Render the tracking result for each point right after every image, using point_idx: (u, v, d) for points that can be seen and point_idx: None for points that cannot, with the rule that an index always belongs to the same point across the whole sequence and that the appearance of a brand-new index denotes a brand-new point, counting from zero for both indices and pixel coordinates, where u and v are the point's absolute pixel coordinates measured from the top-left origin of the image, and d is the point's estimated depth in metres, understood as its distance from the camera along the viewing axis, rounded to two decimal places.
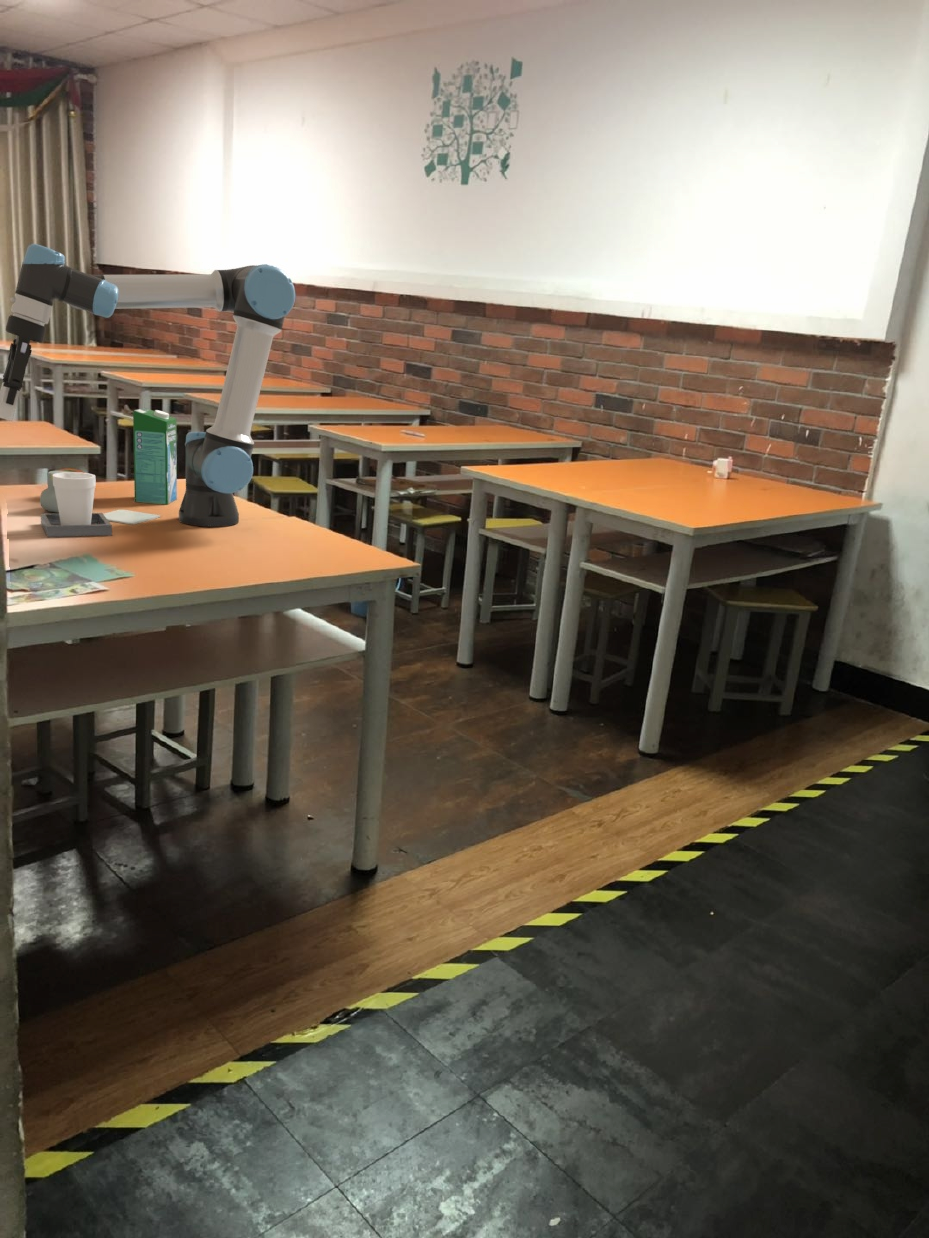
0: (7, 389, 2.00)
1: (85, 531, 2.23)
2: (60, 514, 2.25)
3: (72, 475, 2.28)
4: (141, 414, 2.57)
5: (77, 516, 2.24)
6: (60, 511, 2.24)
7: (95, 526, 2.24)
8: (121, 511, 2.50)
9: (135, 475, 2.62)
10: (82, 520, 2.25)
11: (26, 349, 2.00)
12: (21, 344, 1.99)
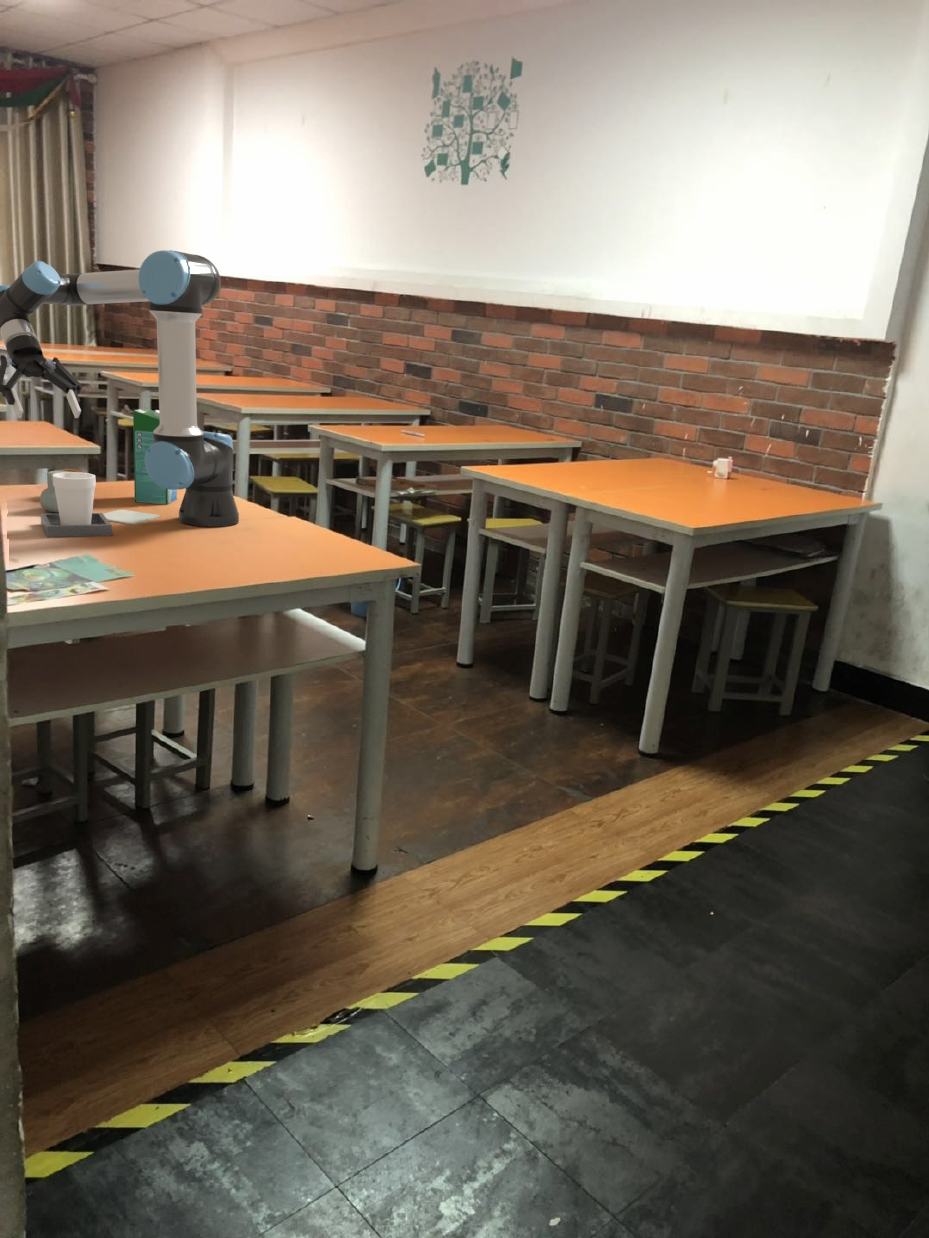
0: None
1: (85, 531, 2.23)
2: (60, 514, 2.25)
3: (72, 475, 2.28)
4: (141, 414, 2.57)
5: (77, 516, 2.24)
6: (60, 511, 2.24)
7: (95, 526, 2.24)
8: (121, 511, 2.50)
9: (135, 475, 2.62)
10: (82, 520, 2.25)
11: (0, 360, 2.26)
12: None
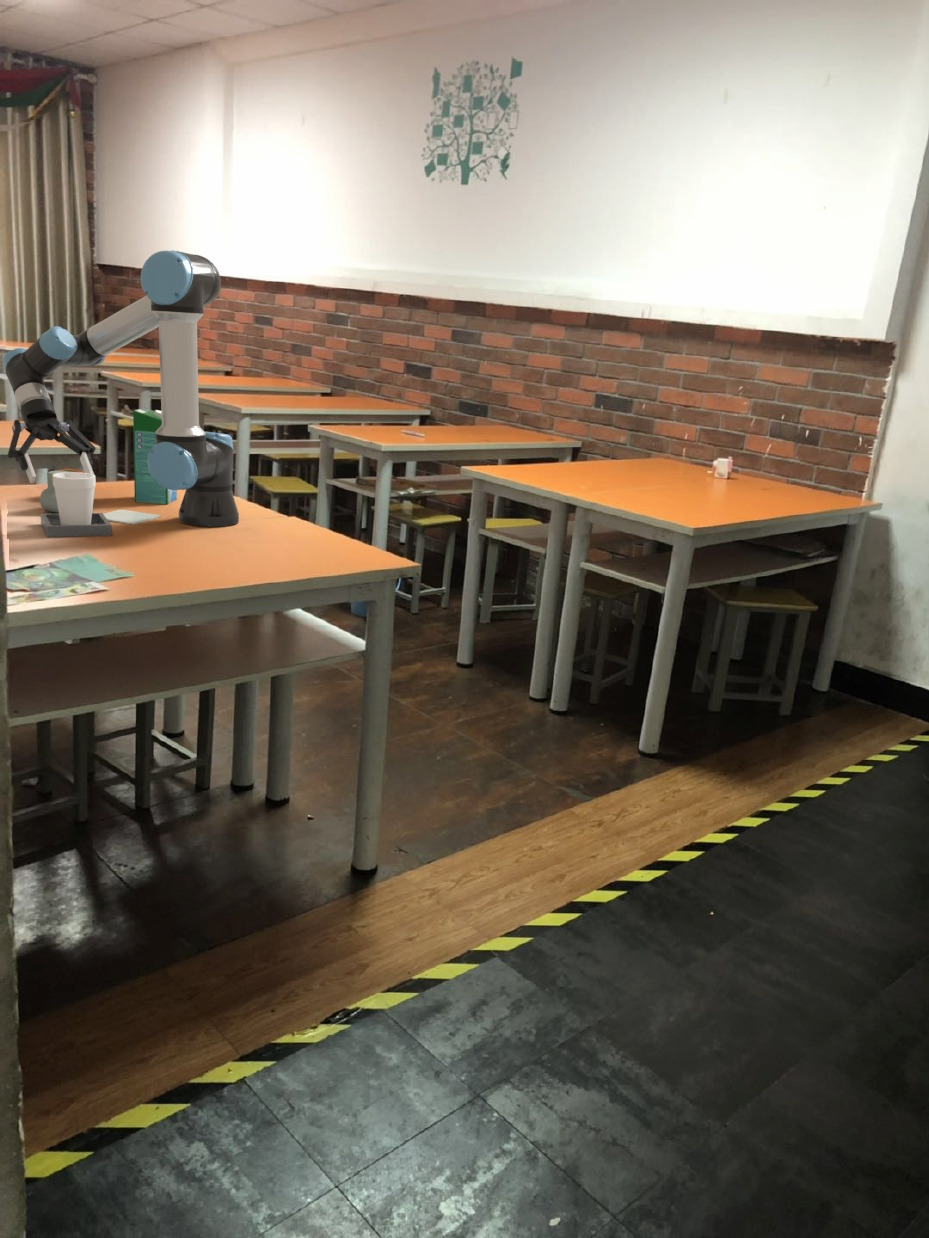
0: None
1: (85, 531, 2.23)
2: (60, 514, 2.25)
3: (72, 475, 2.28)
4: (141, 414, 2.57)
5: (77, 516, 2.24)
6: (60, 511, 2.24)
7: (95, 526, 2.24)
8: (121, 511, 2.50)
9: (135, 475, 2.62)
10: (82, 520, 2.25)
11: (14, 425, 2.27)
12: (12, 426, 2.28)
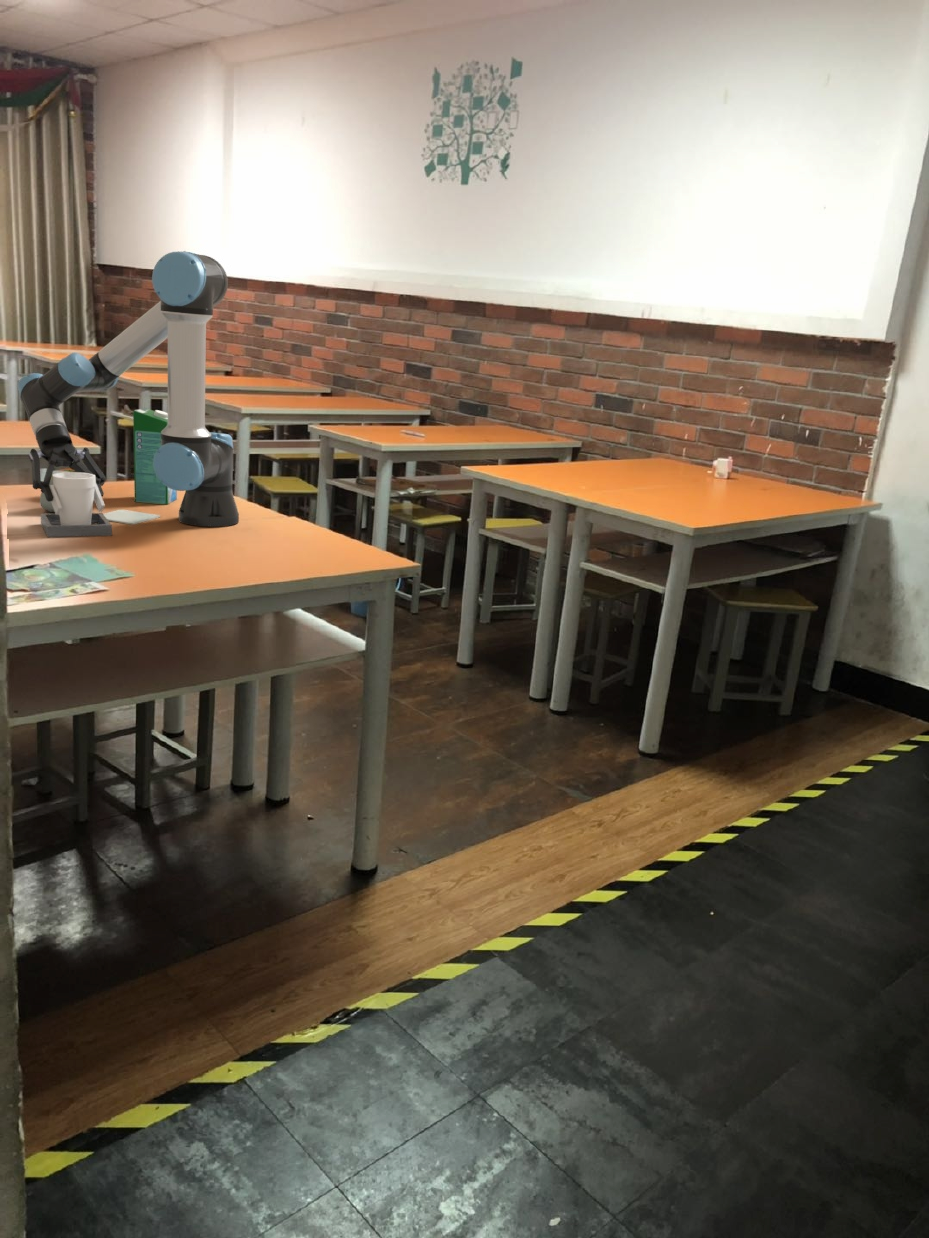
0: None
1: (85, 531, 2.23)
2: (60, 514, 2.25)
3: (72, 475, 2.28)
4: (141, 414, 2.57)
5: (77, 516, 2.24)
6: None
7: (95, 526, 2.24)
8: (121, 511, 2.50)
9: (135, 475, 2.62)
10: (82, 520, 2.25)
11: (31, 455, 2.24)
12: (29, 455, 2.25)
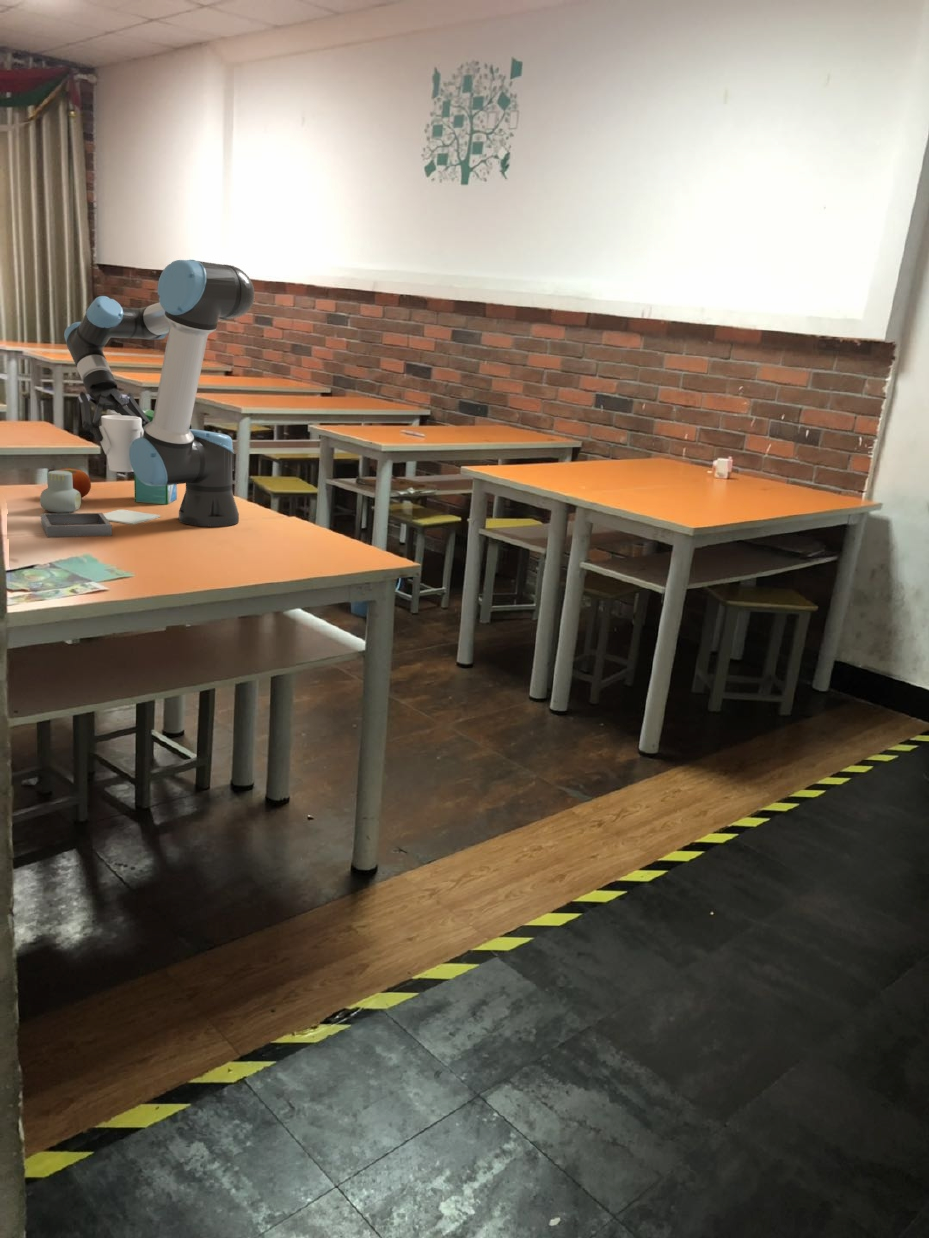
0: None
1: (85, 531, 2.23)
2: (108, 454, 2.37)
3: (118, 418, 2.40)
4: None
5: (125, 455, 2.36)
6: None
7: (95, 526, 2.24)
8: (121, 511, 2.50)
9: (135, 475, 2.62)
10: (129, 460, 2.38)
11: (80, 398, 2.36)
12: (78, 398, 2.37)
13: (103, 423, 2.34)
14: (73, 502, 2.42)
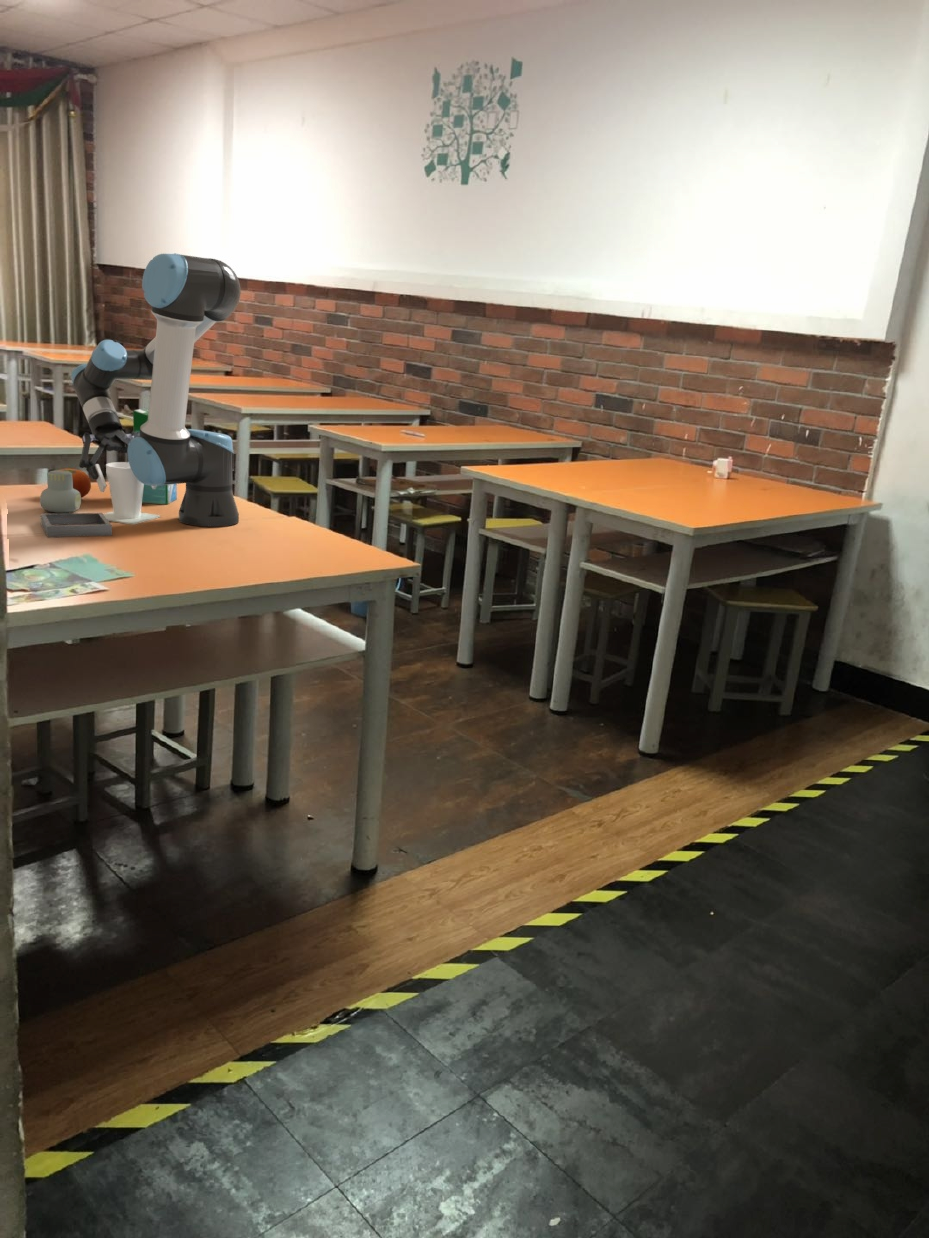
0: None
1: (85, 531, 2.23)
2: (113, 501, 2.41)
3: (123, 465, 2.45)
4: (141, 414, 2.57)
5: (129, 502, 2.41)
6: (113, 498, 2.41)
7: (95, 526, 2.24)
8: None
9: None
10: (133, 506, 2.42)
11: (84, 437, 2.40)
12: (82, 438, 2.41)
13: (108, 471, 2.39)
14: (73, 502, 2.42)
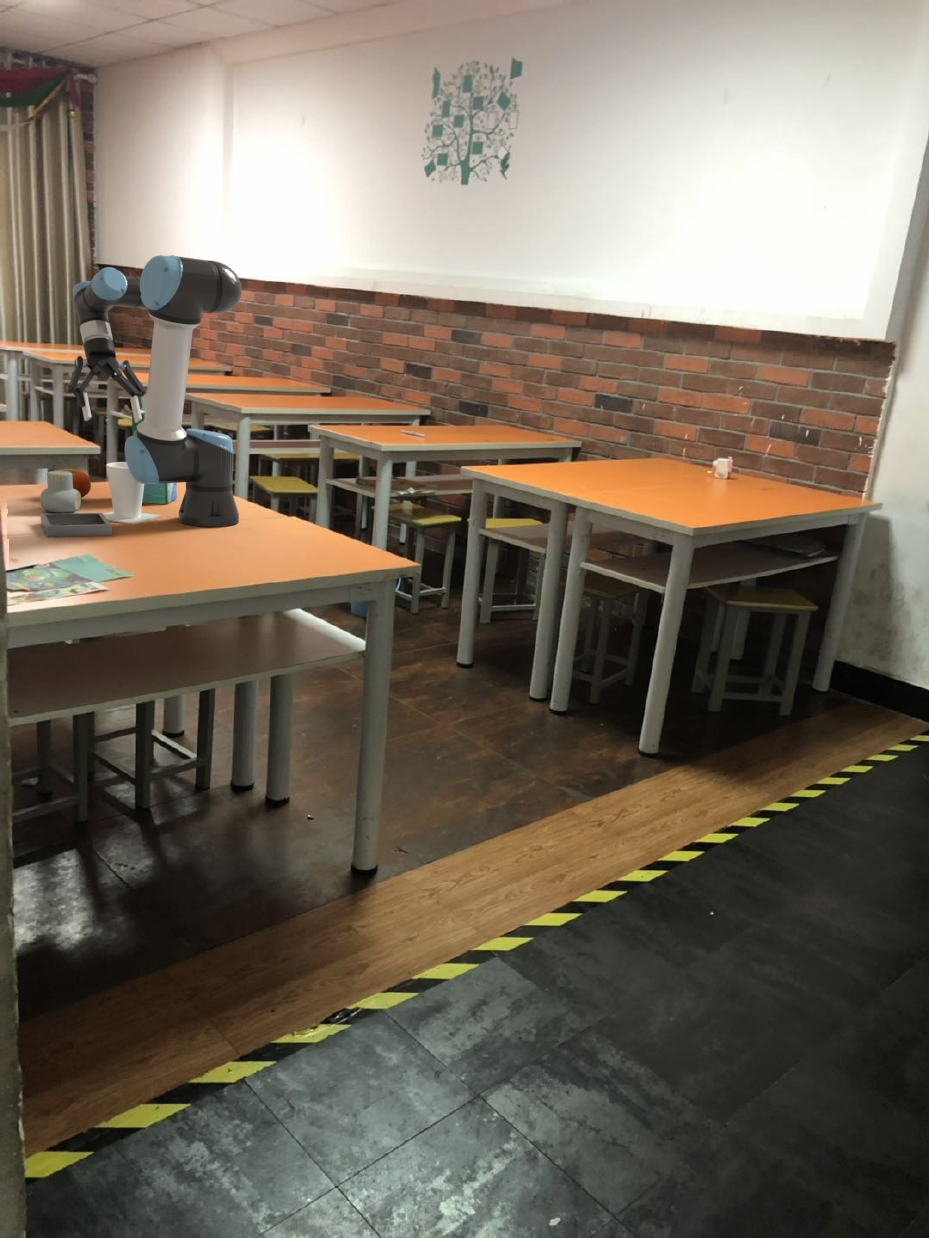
0: None
1: (85, 531, 2.23)
2: (113, 501, 2.42)
3: (123, 465, 2.45)
4: None
5: (129, 502, 2.41)
6: (113, 498, 2.41)
7: (95, 526, 2.24)
8: None
9: None
10: (133, 507, 2.42)
11: (77, 361, 2.45)
12: (75, 360, 2.46)
13: (108, 471, 2.39)
14: (73, 502, 2.42)
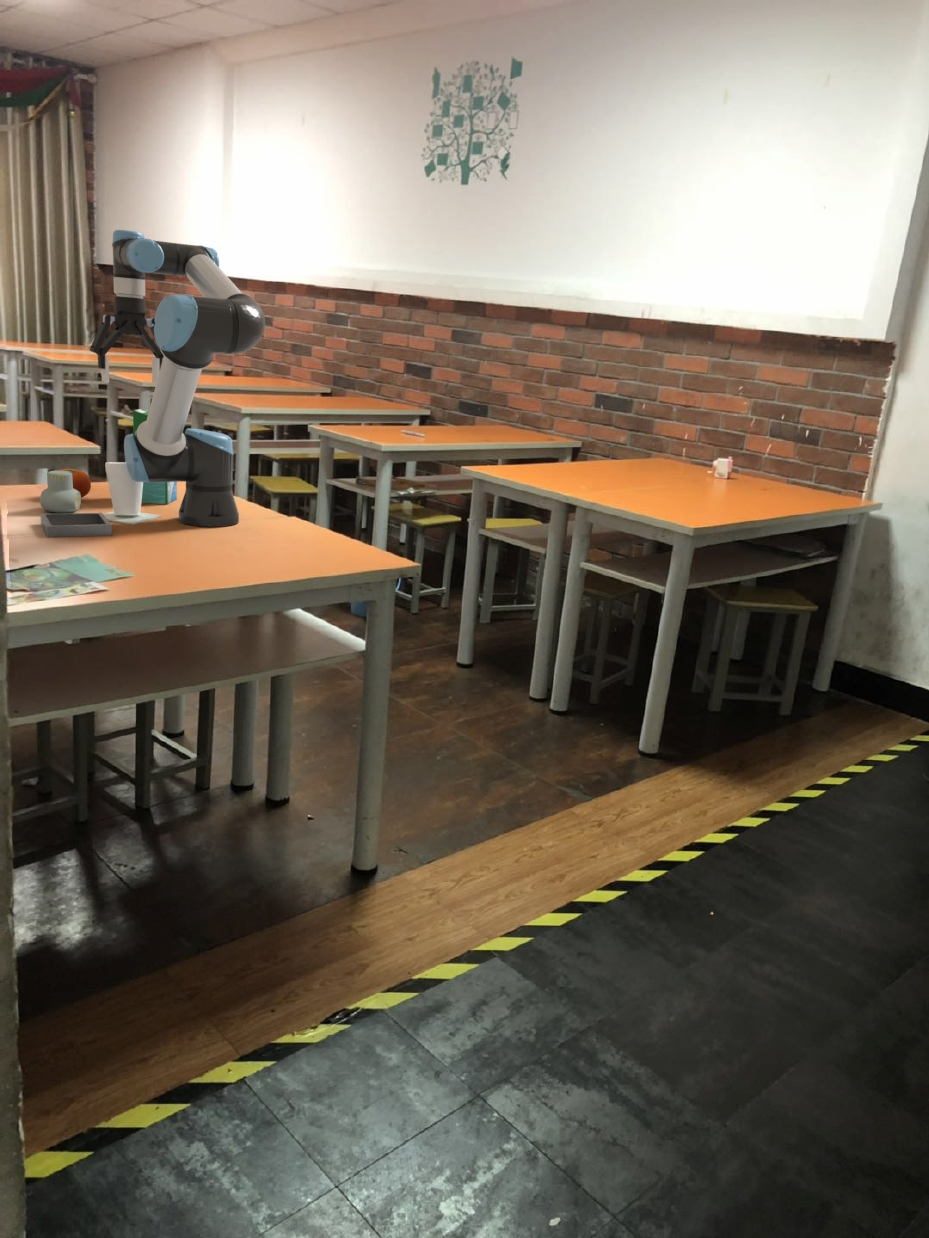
0: None
1: (85, 531, 2.23)
2: (113, 499, 2.42)
3: None
4: (141, 414, 2.57)
5: (129, 499, 2.41)
6: (113, 496, 2.41)
7: (95, 526, 2.24)
8: None
9: None
10: (133, 503, 2.42)
11: (104, 319, 2.38)
12: (102, 316, 2.39)
13: (107, 468, 2.40)
14: (73, 502, 2.42)
